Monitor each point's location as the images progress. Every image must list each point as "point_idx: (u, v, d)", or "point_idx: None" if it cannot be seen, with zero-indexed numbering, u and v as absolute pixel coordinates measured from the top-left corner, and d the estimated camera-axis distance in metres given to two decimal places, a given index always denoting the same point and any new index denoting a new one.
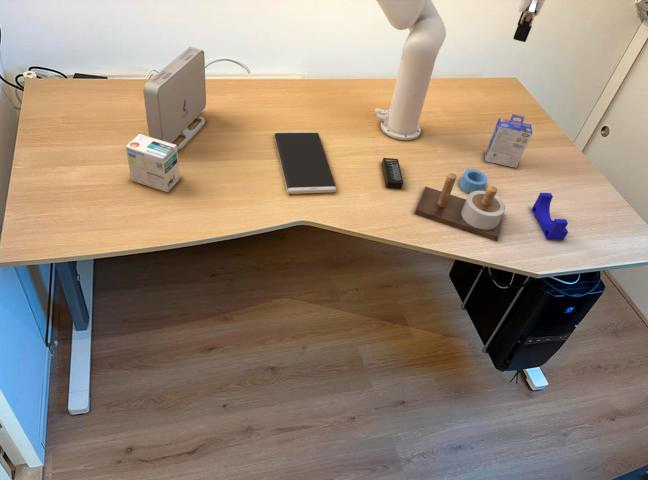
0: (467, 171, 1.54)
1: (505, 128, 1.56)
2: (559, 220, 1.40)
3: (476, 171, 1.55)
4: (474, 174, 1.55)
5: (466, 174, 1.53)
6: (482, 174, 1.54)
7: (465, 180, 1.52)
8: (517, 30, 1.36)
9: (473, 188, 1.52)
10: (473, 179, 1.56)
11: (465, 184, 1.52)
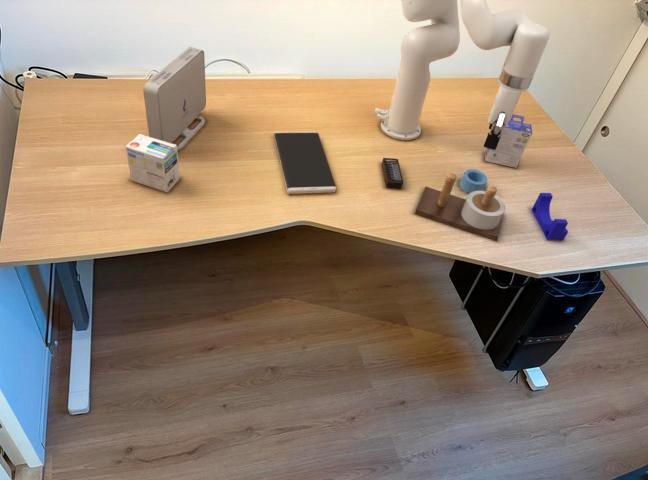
0: (467, 171, 1.54)
1: (505, 128, 1.56)
2: (559, 220, 1.40)
3: (476, 171, 1.55)
4: (474, 174, 1.55)
5: (466, 174, 1.53)
6: (482, 174, 1.54)
7: (465, 180, 1.52)
8: (487, 139, 1.40)
9: (473, 188, 1.52)
10: (473, 179, 1.56)
11: (465, 184, 1.52)
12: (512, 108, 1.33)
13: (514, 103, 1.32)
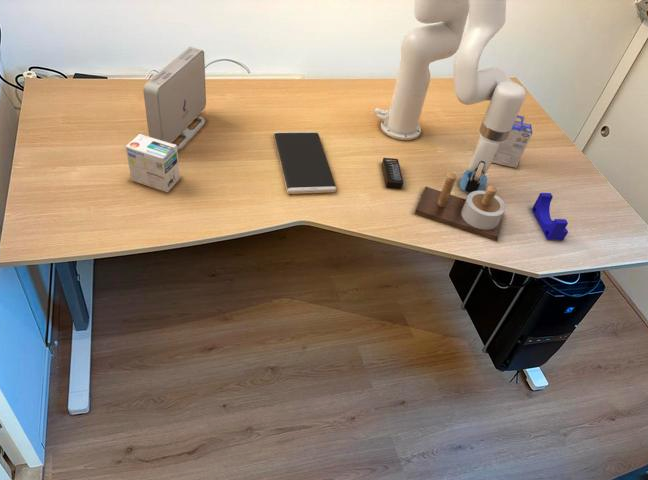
0: (467, 171, 1.54)
1: None
2: (559, 220, 1.40)
3: None
4: (474, 174, 1.55)
5: (466, 174, 1.53)
6: None
7: (465, 180, 1.52)
8: (468, 184, 1.51)
9: None
10: None
11: (465, 184, 1.52)
12: (491, 158, 1.42)
13: (493, 154, 1.42)
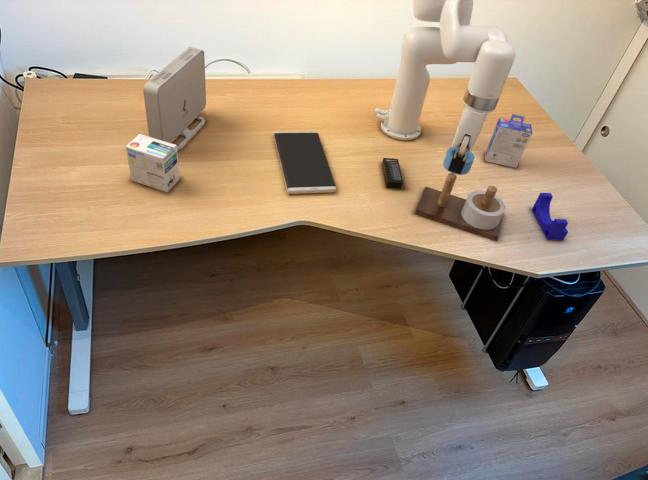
0: (451, 148, 1.35)
1: (505, 128, 1.56)
2: (559, 220, 1.40)
3: None
4: None
5: (450, 151, 1.34)
6: (468, 152, 1.35)
7: (449, 158, 1.33)
8: (451, 163, 1.32)
9: None
10: None
11: (449, 163, 1.34)
12: (477, 131, 1.24)
13: (479, 126, 1.23)
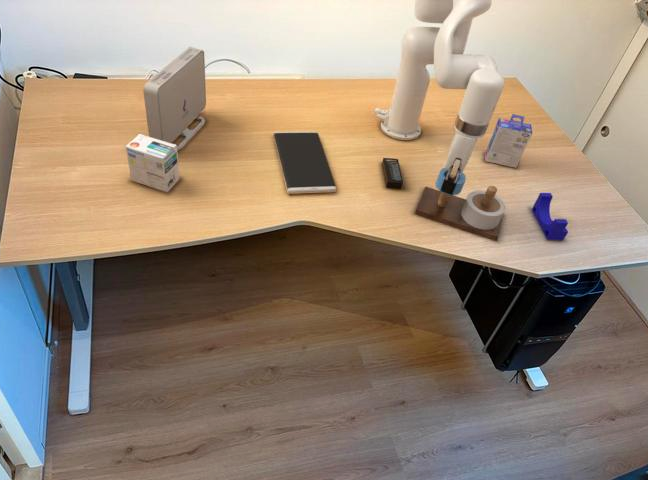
0: (444, 169, 1.40)
1: (505, 128, 1.56)
2: (559, 220, 1.40)
3: None
4: None
5: (442, 173, 1.39)
6: (460, 173, 1.40)
7: (441, 179, 1.38)
8: (443, 184, 1.37)
9: None
10: None
11: (441, 184, 1.38)
12: (468, 155, 1.29)
13: (469, 150, 1.28)
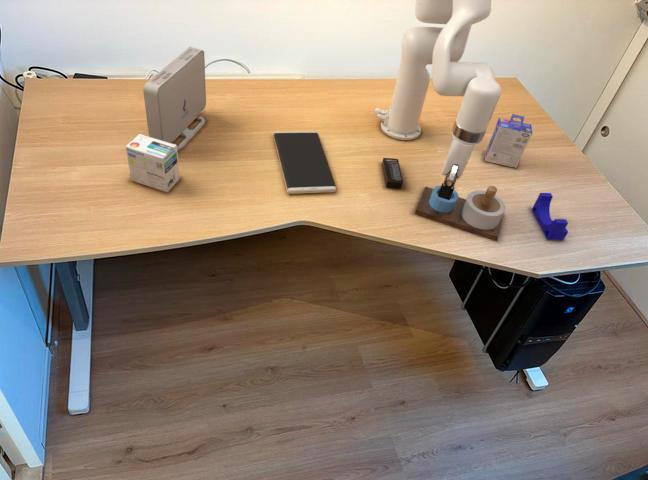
0: (437, 187, 1.45)
1: (505, 128, 1.56)
2: (559, 220, 1.40)
3: None
4: None
5: (435, 191, 1.44)
6: (453, 191, 1.45)
7: (434, 197, 1.43)
8: (441, 190, 1.37)
9: (443, 206, 1.42)
10: None
11: (434, 202, 1.43)
12: (465, 161, 1.30)
13: (467, 156, 1.29)
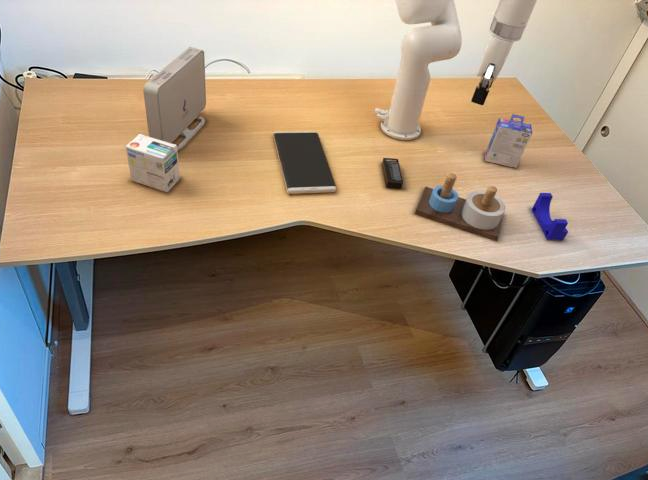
0: (437, 187, 1.45)
1: (505, 128, 1.56)
2: (559, 220, 1.40)
3: None
4: None
5: (435, 191, 1.44)
6: (453, 191, 1.45)
7: (434, 197, 1.43)
8: (475, 93, 1.34)
9: (443, 206, 1.42)
10: None
11: (434, 202, 1.43)
12: (502, 60, 1.26)
13: (504, 54, 1.26)
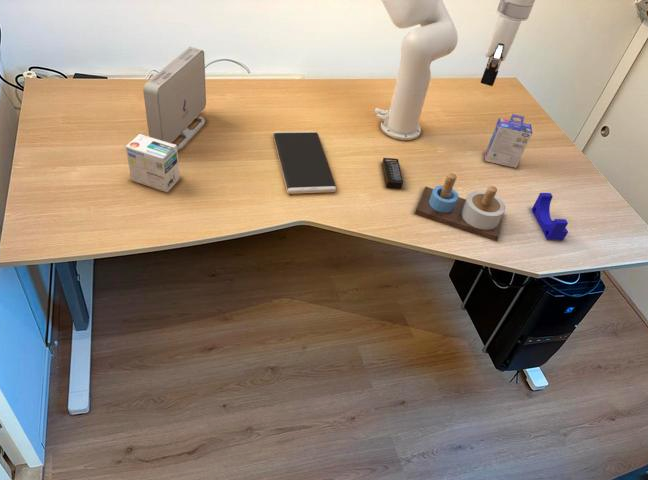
0: (437, 187, 1.45)
1: (505, 128, 1.56)
2: (559, 220, 1.40)
3: None
4: None
5: (435, 191, 1.44)
6: (453, 191, 1.45)
7: (434, 197, 1.43)
8: (484, 74, 1.36)
9: (443, 206, 1.42)
10: None
11: (434, 202, 1.43)
12: (510, 39, 1.29)
13: (513, 34, 1.28)
